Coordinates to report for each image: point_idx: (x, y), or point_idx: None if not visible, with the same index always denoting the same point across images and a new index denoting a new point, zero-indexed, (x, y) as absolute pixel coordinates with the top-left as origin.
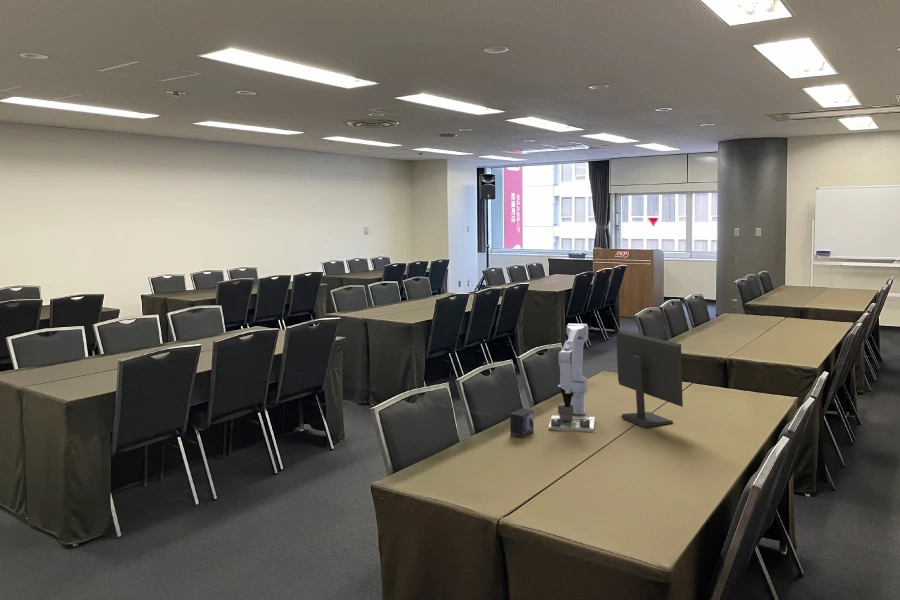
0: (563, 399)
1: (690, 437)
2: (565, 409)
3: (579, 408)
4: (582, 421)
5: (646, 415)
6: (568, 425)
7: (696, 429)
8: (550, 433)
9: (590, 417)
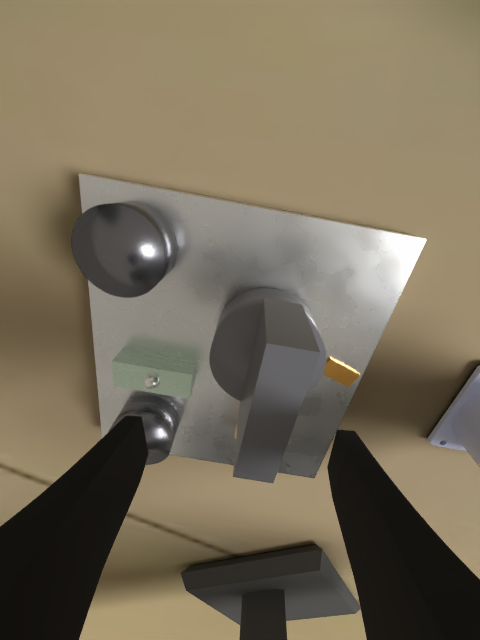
0: (353, 462)
1: (111, 610)
2: (248, 386)
3: (474, 450)
4: (110, 429)
5: (301, 604)
6: (136, 333)
7: (184, 630)
8: (8, 183)
9: (307, 461)
